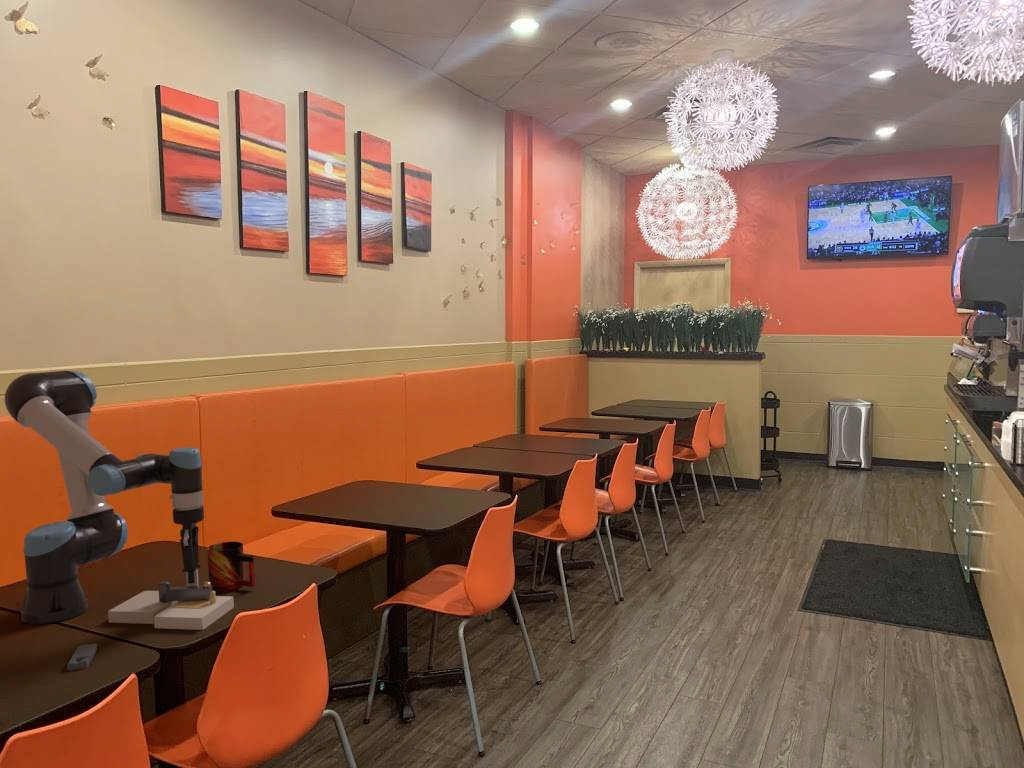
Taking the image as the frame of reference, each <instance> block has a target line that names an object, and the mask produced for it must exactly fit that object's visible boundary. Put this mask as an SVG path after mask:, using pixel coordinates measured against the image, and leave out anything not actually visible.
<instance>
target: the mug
mask: <svg viewBox="0 0 1024 768" xmlns="http://www.w3.org/2000/svg"><path fill="white" fill-rule="evenodd" d="M206 549H207V551H206V553H207V565H208V566H207V569H208V581H210V582H211V585H212V590H213V591H215V593H218V594H220V593H221V594H222V593H229V592H235V591H238V590H240V588H241V589H242V587H243V588H244V587H248V588H249V587H250V588H255V587H256V577H255V576H256V575H255V564H254V562H255V561H254V560H255V559H254V555H249V554H244V543H242V542H241V541H223V542H218V543H214V544H210V545H209V546H207V548H206ZM244 562H246V563H248V572H249V573H248V574H249V575H248V576H249V579H245V576H246V574H245V563H244Z"/></svg>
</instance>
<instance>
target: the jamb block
mask: <svg viewBox="0 0 1024 768" xmlns="http://www.w3.org/2000/svg"><path fill="white" fill-rule="evenodd" d="M177 602H178V601H167V602H159V590H144V591H142V592H140V593H139V594H136V595H134V596H132V597H131V598H129V599H128V600H125V601H123V602H122V603H120V604H118V605H116V606H114V607H113V608H111V609H109V610H108V611H107V615H108V623H112V624H113V623H117V624H145V625H147V624H148V625H155V624H154V616H156V615H157V614H159V613H160V612H162V611H164V610H165V609H167V608H169V607H170V606H172V605H173V604H175V603H177Z"/></svg>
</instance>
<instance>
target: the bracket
mask: <svg viewBox="0 0 1024 768" xmlns="http://www.w3.org/2000/svg"><path fill="white" fill-rule="evenodd" d="M97 651H98V643H96V642H95V643H90V644H84V645H83V644H82V645H78V646H77V647H76V649H75V651H74V653H73V654H72V656H71V658H70V660H69V661H68V662H67V664H66V666H67V671H73V670H74V671H76V670H82V669H88V667H90V666H89V665H90V663H91V662H92V660H93V658H94V656H95V654H96V652H97Z"/></svg>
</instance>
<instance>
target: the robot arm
mask: <svg viewBox="0 0 1024 768" xmlns="http://www.w3.org/2000/svg"><path fill="white" fill-rule="evenodd" d="M97 392H98V391H97V388H96V385H95V384H94V382H93V380H92V379H91V378H90V377H89V376H88V375H86V374H85V373H83V372H81V371H77V370H66V369H65V370H58V371H56V370H55V371H46V372H45V371H44V372H33V373H32V372H30V373H25V374H22V375H19V376H18V377H16V378H14V379H13V380H12V381H11V382H10V384H9V385H8V387H7V389H6V390H5V393H4V404H5V408H6V411H7V413H8V414H9V415H10V416H11V417H12V418H13V420H14V421H16V423H18V424H19V425H20V426H22V427H24V428H31V429H32V430H33V431H34V432H36V433H37V434H38V435H39V436H40V437H42V438H43V439H44V440H45V441H47V442H48V443H49V444H50V445H51V446H53V448H54V449H56V451H57V454H58V459H59V463H60V466H61V471H62V474H63V475H62V476H63V480H64V484H65V489H66V492H67V497H68V503H69V505H70V509H71V511H70V513H69V515H68V516H67V517H66V521H65V520H64V521H56V522H52V523H46V524H43V525H40V526H38V527H36V528H33V529H31V530H30V531H29V532H27V533H26V535H25V536H24V539H23V550H22V551H23V554H24V563H25V564H24V565H25V577H26V593H25V596H24V600H23V604H22V608H21V609H20V615H21V616H20V618H21V622H23V623H25V624H28V625H29V624H30V625H43V624H52V623H57V622H60V621H64V620H65V621H66V620H68V619H71V618H74V617H77V616H79V615H81V614H83V613H84V612H86V611H87V610H88V608H89V605H88V598H87V597H86V596H85V593H84V591H83V588H82V586H81V583H80V581H79V573H78V572H79V571H78V570H79V567H83V566H85V565H88V564H91V563H94V562H97V561H100V560H103V559H108V558H109V557H111V556H115V554H119V552H121V551H122V550H123V549H124V547H125V545H126V543H127V541H128V537H129V528H128V524H127V521H126V520H125V518H123V516H122V515H121V514H119V513H116V512H115V510H114V506H112V505H110V504H108V503H107V502H106V498H105V496H109V495H117V494H120V493H123V492H126V491H130V490H133V489H138V488H142V487H146V486H150V485H154V484H166V485H170V487H171V495H170V496H169V499H170V500H172V507H173V510H172V521H173V523H174V524H175V525H181V526H182V527H181V530H180V532H179V536H180V540H179V543H180V547H181V552H182V561H183V562H182V564H183V569H182V570H181V571H182V572H183V573H185V577H186V578H185V579H186V582H185V583H186V586H200V585H199V571H198V570H199V569H198V568H201V564H199V562H200V561H199V531H200V529H199V528H200V527H199V526H197V524H198V523H200V522H202V521H203V520H204V519H205V511H204V506H203V504H204V490H203V476H202V470H203V469H202V458H201V453H200V450H199V449H198V448H197V447H178V448H173V449H171V450H170V451H169V454H157V453H152V452H151V453H143V454H139V455H137V456H136V457H135V458H132V459H128V460H127V459H126V460H122V459H120V458H119V457H118V456H117V455H115V454H114V453H112V451H110V449H108V448H106V447H105V446H104V445H102V443H100V442H99V441H97V440H96V439H95V438H94V437H92V435H91V433H90V429H89V425H88V419H89V418H90V417H91V416H92V408H93V407H94V406H95V404H96V400H97V397H98V394H97Z"/></svg>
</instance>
